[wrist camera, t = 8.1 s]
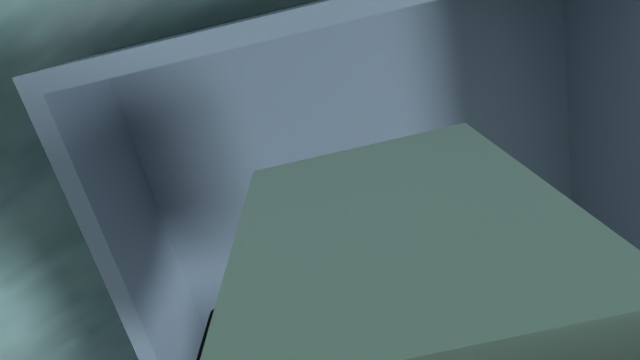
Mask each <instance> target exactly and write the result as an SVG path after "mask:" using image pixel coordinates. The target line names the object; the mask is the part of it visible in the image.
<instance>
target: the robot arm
mask: <svg viewBox="0 0 640 360" xmlns="http://www.w3.org/2000/svg"><path fill="white" fill-rule="evenodd" d="M213 312H214V309H213V310H211V313H210V315H209V318H208V322H207V325H206V328H205V332H204V335H203V339H202V342H201V346H200V349H199V352H198V356H197V359H196V360H200V358H201V354H202V351H203V347H204V344H205V340H206V336H207V333H208V329H209V326H210V322H211V319H212V315H213Z"/></svg>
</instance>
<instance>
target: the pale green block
mask: <svg viewBox="0 0 640 360" xmlns="http://www.w3.org/2000/svg"><path fill="white" fill-rule="evenodd" d="M200 360H640V250H639V249H637V248H636V247H634V246H633V245H632V244H630V243H629V242H628V241H626V240H625V239H624V238H622V237H621V236H619V235H618V234H617V233H615V232H614V231H613V230H611V229H610V228H608V227H607V226H606V225H604V224H603V223H602V222H600V221H599V220H598V219H596V218H595V217H593V216H592V215H591V214H589V213H588V212H587V211H585V210H584V209H583V208H581V207H580V206H578V205H577V204H576V203H574V202H573V201H572V200H570V199H569V198H568V197H566V196H565V195H563V194H562V193H561V192H559V191H558V190H557V189H555V188H554V187H552V186H551V185H550V184H548V183H547V182H546V181H544V180H543V179H542V178H540V177H539V176H537V175H536V174H535V173H533V172H532V171H531V170H529V169H528V168H527V167H525V166H524V165H522V164H521V163H520V162H518V161H517V160H516V159H514V158H513V157H511V156H510V155H509V154H507V153H506V152H505V151H503V150H502V149H501V148H499V147H498V146H496V145H495V144H494V143H492V142H491V141H490V140H488V139H487V138H486V137H484V136H483V135H481V134H480V133H479V132H477V131H476V130H475V129H473V128H472V127H471V126H469V125H468V124H466V123H462V124H457V125H453V126H448V127H444V128H440V129H435V130H431V131H426V132H422V133H418V134H413V135H409V136H405V137H400V138H396V139H391V140H387V141H383V142H378V143H374V144H370V145H365V146H361V147H356V148H352V149H348V150H343V151H339V152H334V153H330V154H326V155H321V156H317V157H313V158H308V159H304V160H299V161H295V162H291V163H286V164H282V165H278V166H273V167H269V168H264V169H260V170H256V171H253V174H252V177H251V181H250V185H249V188H248V192H247V195H246V199H245V202H244V206H243V209H242V213H241V216H240V220H239V223H238V227H237V230H236V234H235V238H234V241H233V245H232V248H231V252H230V255H229V259H228V262H227V266H226V269H225V273H224V276H223V280H222V283H221V287H220V291H219V294H218V298H217V301H216V305H215V308H214V312H213V315H212V319H211V322H210V326H209V329H208V333H207V336H206V340H205V344H204V347H203V351H202V354H201V358H200Z"/></svg>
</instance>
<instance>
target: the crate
mask: <svg viewBox="0 0 640 360" xmlns="http://www.w3.org/2000/svg"><path fill="white" fill-rule="evenodd" d="M12 80H13V82H14V84H15V86H16V88H17V91H18V93H19V95H20V97H21V100H22V102H23V104H24V106H25V108H26V111H27V113H28V115H29V117H30V120H31V122H32V124H33V126H34V128H35V131H36V133H37V135H38V137H39V140H40V142H41V144H42V146H43V148H44V151H45V153H46V155H47V157H48V160H49V162H50V164H51V166H52V168H53V171H54V173H55V175H56V177H57V180H58V182H59V184H60V186H61V188H62V191H63V193H64V195H65V197H66V200H67V202H68V204H69V206H70V208H71V211H72V213H73V215H74V217H75V220H76V222H77V224H78V226H79V228H80V231H81V233H82V235H83V237H84V239H85V242H86V244H87V246H88V248H89V251H90V253H91V255H92V257H93V259H94V262H95V264H96V266H97V268H98V271H99V273H100V275H101V277H102V279H103V282H104V284H105V286H106V288H107V291H108V293H109V295H110V297H111V299H112V302H113V304H114V306H115V308H116V311H117V313H118V315H119V317H120V319H121V322H122V324H123V326H124V328H125V331H126V333H127V335H128V337H129V339H130V342H131V344H132V346H133V348H134V351H135V353H136V355H137V357H138V359H139V360H196V359H197V356H198V352H199V349H200V346H201V342H202V339H203V335H204V332H205V328H206V325H207V322H208V318H209V315H210V313H211V310H213V309H214V308H215V305H216V301H217V298H218V294H219V291H220V287H221V283H222V280H223V276H224V273H225V269H226V266H227V262H228V259H229V255H230V252H231V248H232V245H233V241H234V238H235V234H236V230H237V227H238V223H239V220H240V216H241V213H242V209H243V206H244V202H245V199H246V195H247V192H248V188H249V185H250V181H251V177H252V174H253V171H256V170H260V169H264V168H269V167H273V166H278V165H282V164H286V163H291V162H295V161H299V160H304V159H308V158H313V157H317V156H321V155H326V154H330V153H334V152H339V151H343V150H348V149H352V148H356V147H361V146H365V145H370V144H374V143H378V142H383V141H387V140H391V139H396V138H400V137H405V136H409V135H413V134H418V133H422V132H426V131H431V130H435V129H440V128H444V127H448V126H453V125H457V124H462V123H466V124H468V125H469V126H471V127H472V128H473V129H475V130H476V131H477V132H479V133H480V134H481V135H483V136H484V137H486V138H487V139H488V140H490V141H491V142H492V143H494V144H495V145H496V146H498V147H499V148H501V149H502V150H503V151H505V152H506V153H507V154H509V155H510V156H511V157H513V158H514V159H516V160H517V161H518V162H520V163H521V164H522V165H524V166H525V167H527V168H528V169H529V170H531V171H532V172H533V173H535V174H536V175H537V176H539V177H540V178H542V179H543V180H544V181H546V182H547V183H548V184H550V185H551V186H552V187H554V188H555V189H557V190H558V191H559V192H561V193H562V194H563V195H565V196H566V197H568V198H569V199H570V200H572V201H573V202H574V203H576V204H577V205H578V206H580V207H581V208H583V209H584V210H585V211H587V212H588V213H589V214H591V215H592V216H593V217H595V218H596V219H598V220H599V221H600V222H602V223H603V224H604V225H606V226H607V227H608V228H610V229H611V230H613V231H614V232H615V233H617V234H618V235H619V236H621V237H622V238H624V239H625V240H626V241H628V242H629V243H630V244H632V245H633V246H634V247H636V248H637V249H639V250H640V0H319V1H315V2H311V3H306V4H302V5H298V6H294V7H290V8H286V9H282V10H278V11H274V12H269V13H265V14H261V15H257V16H253V17H249V18H245V19H241V20H236V21H232V22H228V23H224V24H220V25H216V26H212V27H208V28H203V29H199V30H195V31H191V32H187V33H183V34H179V35H175V36H170V37H166V38H162V39H158V40H154V41H150V42H146V43H142V44H137V45H133V46H129V47H125V48H121V49H117V50H113V51H109V52H105V53H100V54H96V55H92V56H88V57H85V58H81V59H78V60H74V61H70V62H67V63H63V64H59V65H56V66H52V67H48V68H45V69H41V70H37V71H34V72H30V73H26V74H23V75H19V76H15V77H12Z"/></svg>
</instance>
